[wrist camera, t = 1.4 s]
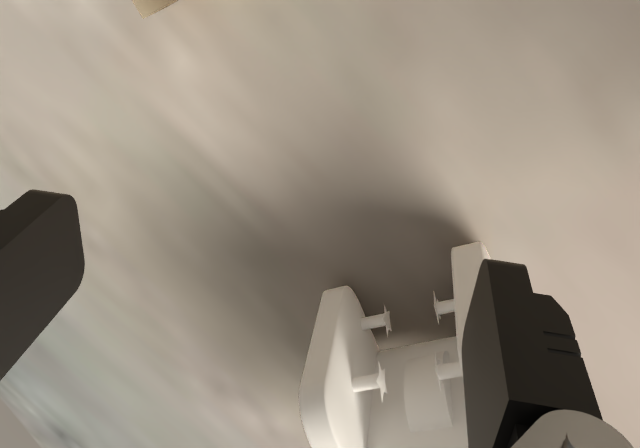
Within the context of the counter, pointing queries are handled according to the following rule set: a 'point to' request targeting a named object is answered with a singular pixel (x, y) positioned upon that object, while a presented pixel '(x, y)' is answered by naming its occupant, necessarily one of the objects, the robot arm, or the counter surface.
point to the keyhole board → (151, 6)
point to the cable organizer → (387, 374)
